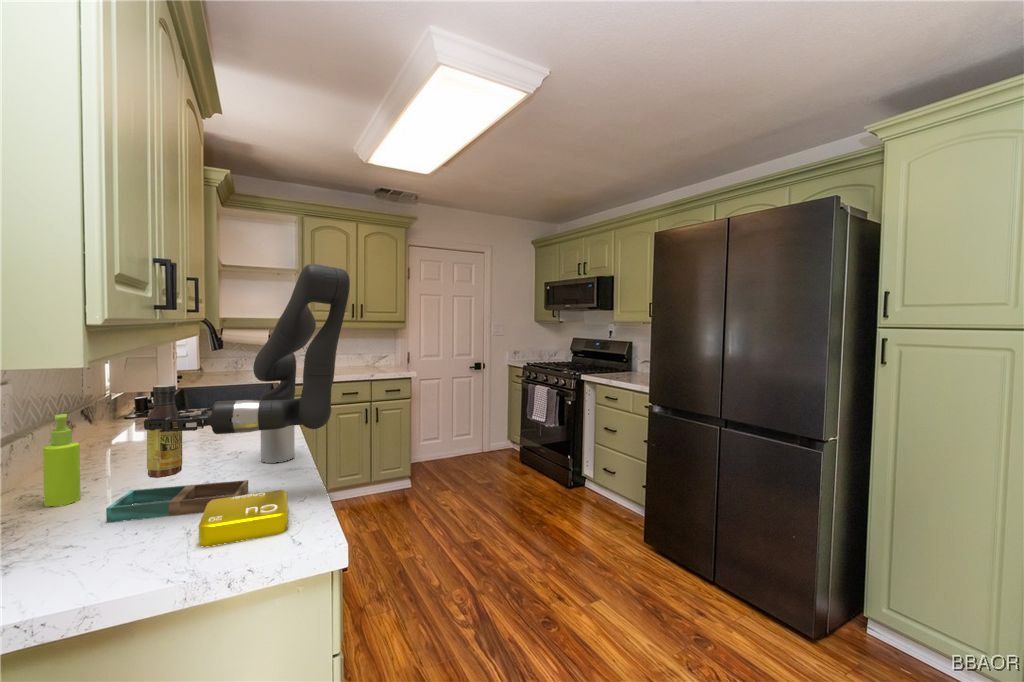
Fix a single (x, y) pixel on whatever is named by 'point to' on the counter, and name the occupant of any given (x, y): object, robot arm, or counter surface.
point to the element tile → (244, 518)
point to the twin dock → (171, 500)
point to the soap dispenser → (61, 466)
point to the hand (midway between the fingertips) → (151, 421)
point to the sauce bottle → (164, 436)
